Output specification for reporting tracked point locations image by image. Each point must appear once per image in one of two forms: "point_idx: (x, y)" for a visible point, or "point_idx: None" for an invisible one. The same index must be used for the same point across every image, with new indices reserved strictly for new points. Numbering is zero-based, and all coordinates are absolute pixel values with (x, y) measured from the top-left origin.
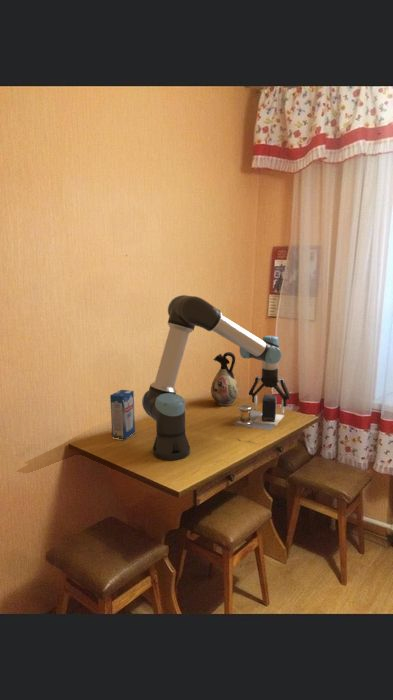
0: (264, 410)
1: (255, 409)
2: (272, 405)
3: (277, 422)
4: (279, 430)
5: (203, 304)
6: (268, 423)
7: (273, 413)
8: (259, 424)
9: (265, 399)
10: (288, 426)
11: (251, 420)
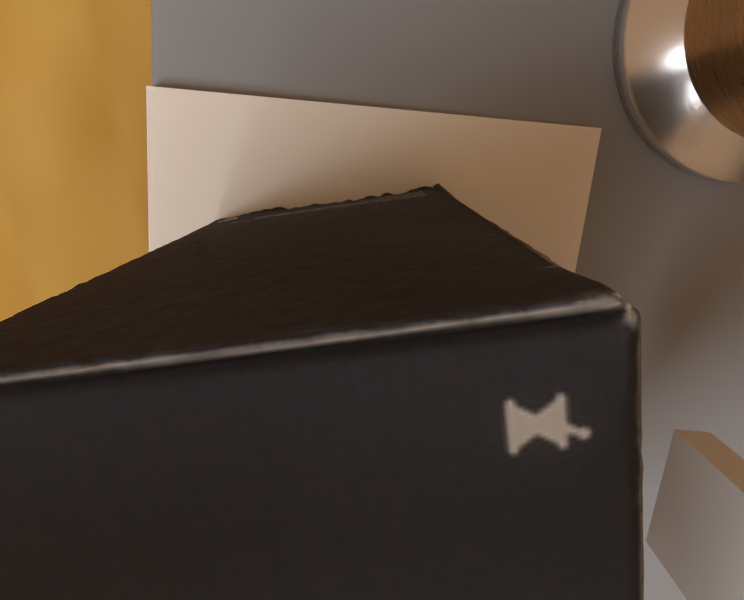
0: (422, 217)
1: (677, 439)
2: (111, 297)
3: (154, 217)
4: (89, 9)
5: None
6: (299, 98)
7: (178, 244)
8: (464, 31)
9: (474, 507)
10: (14, 264)
11: (650, 119)
